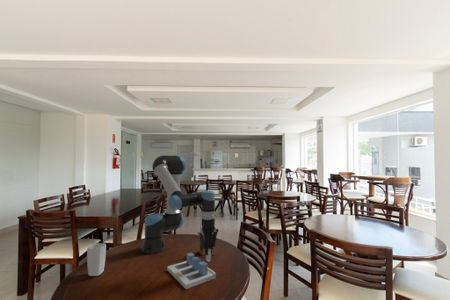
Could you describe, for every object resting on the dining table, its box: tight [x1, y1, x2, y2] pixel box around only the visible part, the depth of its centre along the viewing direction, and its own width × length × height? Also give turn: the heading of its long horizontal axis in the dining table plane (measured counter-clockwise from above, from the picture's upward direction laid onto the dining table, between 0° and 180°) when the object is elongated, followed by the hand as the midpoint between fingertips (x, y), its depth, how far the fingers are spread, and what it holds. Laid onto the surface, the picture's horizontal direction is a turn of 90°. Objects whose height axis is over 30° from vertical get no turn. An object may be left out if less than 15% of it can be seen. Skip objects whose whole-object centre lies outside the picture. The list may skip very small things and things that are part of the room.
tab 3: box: [199, 260, 209, 276], centre depth 117 cm, size 4×3×5 cm
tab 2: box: [192, 256, 202, 270], centre depth 122 cm, size 4×3×5 cm
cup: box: [86, 243, 107, 277], centre depth 120 cm, size 7×7×15 cm
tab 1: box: [186, 252, 196, 265], centre depth 128 cm, size 4×3×5 cm
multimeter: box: [199, 226, 215, 259], centre depth 147 cm, size 15×10×20 cm
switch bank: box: [166, 260, 217, 290], centre depth 120 cm, size 23×17×3 cm
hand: (208, 260), depth 126 cm, fingers closed
